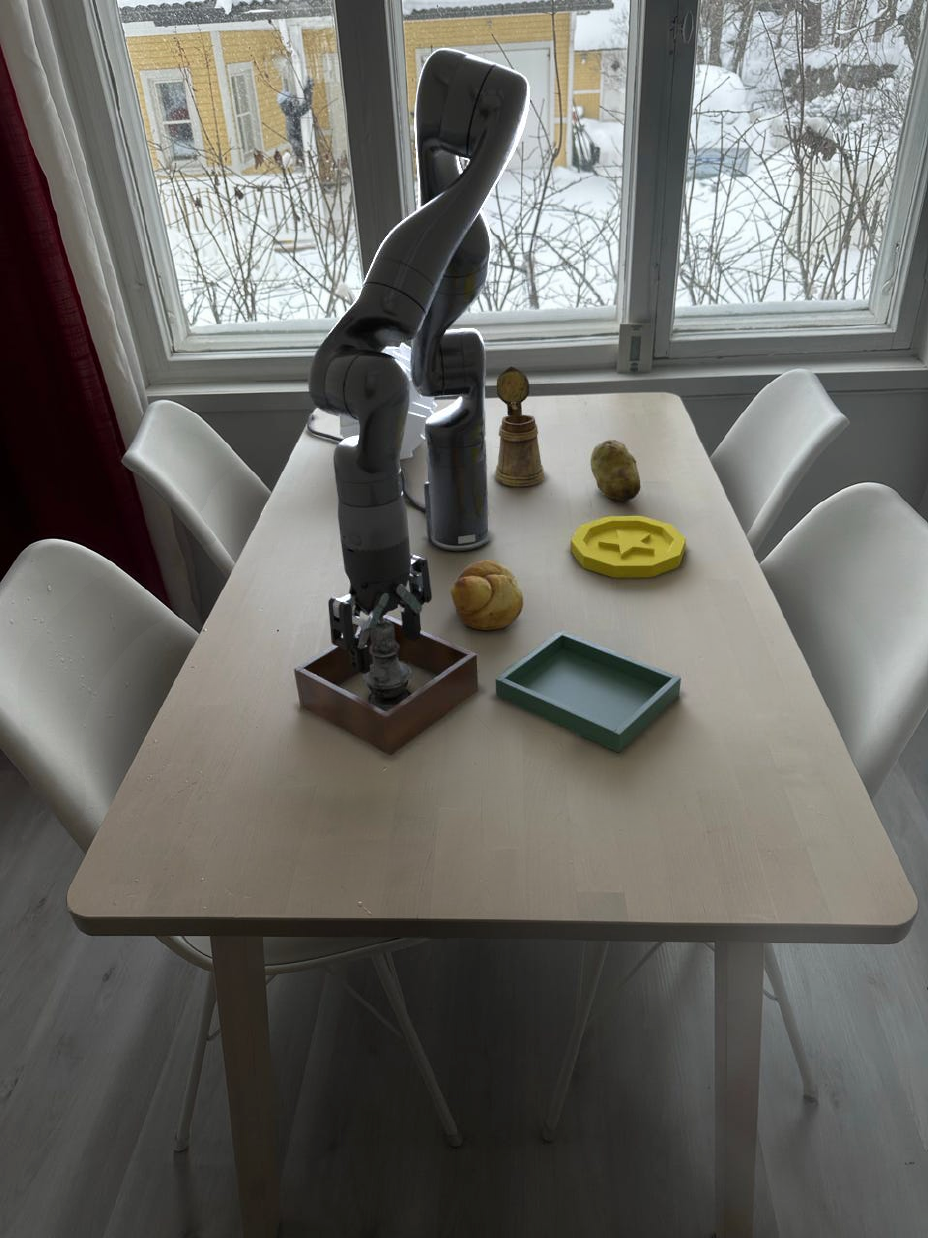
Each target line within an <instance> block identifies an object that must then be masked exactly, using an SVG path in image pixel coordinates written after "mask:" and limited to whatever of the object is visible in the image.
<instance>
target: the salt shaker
mask: <svg viewBox="0 0 928 1238" xmlns="http://www.w3.org/2000/svg"><path fill="white" fill-rule="evenodd" d="M383 619H384V617H381V618H380V619H379V620H378V623H377V626H376V628H375V630H373V631H371V632H370V634H371V642H372V645H371V646H370V648H369V652H370V653H371V654H372V657H373V664H372V665H370V671H369V672H368V673H366V674H363V673H362V681H363V682H364V683H365V685H366V687H367V688H368V690H369V691H370V693H369V695H368V697H367V702H369V703H370V704H372V705H374V706H376V707H378V708H380V709H382V710H384V711H386V712H387V711H388V710H390V709H391V708H393V707H394V706H396V705H397V704H398V703H400V702H401V701H403V700H404V699H406V698H407V697H408V696H410V695H411V694H412V693H411V692H410V689H408V685H409V683H410V680H411V677H412V669H411V668H410V667H409V666H408V665H407V664H405V663H404V662H401V661H399V658H398V653H397V652H398V651H399V648H400V647H399V645H398V643H396V639H395V629H394V625H393V624H392V623H391V622H390V621H388V620H383Z"/></svg>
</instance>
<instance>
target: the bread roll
mask: <svg viewBox="0 0 928 1238" xmlns="http://www.w3.org/2000/svg"><path fill="white" fill-rule="evenodd" d="M450 596H451V600H452V603H453V605H454V607H455V611H456V614H457V617H458V618H459V620H461V622H462V623H463V624H464V625H465V626H468V627H470V628H473V629H475V630H478V631H479V630H480V631H482V630H483V631H491V630H499V629H503V628H505V627H508V626H510V625H511V624H513V623H514V621H516V619H518V618H519V616H520V615H521V613H522V610H523V608H524V607H523V606H524V597H523V594H522V590H521V589H520V587H519V585H518V582H517V580H516V577H515V575H514V574H513V573H512V571H511V570H510V569H509V568H508V567H507V566H504V565H502V563H499V562H498V561H496V560H491V559H490V560H481V561H477V562H473V563H470V564H468V565H467V566H465V568H464V569H463V570H461V572H460V573H459V575H458V576H457V578H456V580H455V582H454V583H453V584H452V586H451V589H450Z"/></svg>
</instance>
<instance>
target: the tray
mask: <svg viewBox="0 0 928 1238" xmlns="http://www.w3.org/2000/svg"><path fill="white" fill-rule="evenodd" d="M681 682H682V677H680V676H678V675H675V674H673V673H671V672H667V671H665V670H662V669H660V668H657V667H655V666H652V665H649V664H647V663H645V662H642V661H639V660H637V659H635V658H633V657H629V656H627V655H625V654H621V653H619V652H616V651H614V650H611V649H609V648H606V647H604V646H601V645H598V644H596V643H593V642H591V641H588V640H586V639H583V638H581V637H578V636H575V635H573V634H571V633H568V632H565V631H562V630H559V631H558V632H556V633H555V634H554V635H553V636H551V637H550V638H549V639H547V640H546V641H545V642H544V643H542V644H541V645H539V646H538V647H536V648H535V649H533V651H531V652H530V653H529V654H527V655H526V656H524V657H523V658H522V659H520V660H519V661H518V662H516V663H515V664H514V665H513V666H511V667H510V668H508V669H507V670H506V671H504V672H503V673H501V674H500V675H499V676H497V677H496V678H495V697H497V698H499V699H501V700H503V701H506V702H508V703H510V704H512V705H514V706H517V707H519V708H520V709H523V710H525V711H527V712H530V713H531V714H534V715H536V716H538V717H540V718H543V719H545V720H546V721H549V722H550V723H553V724H555V725H558V726H560V727H562V728H564V729H566V730H569V731H570V732H573V733H575V734H577V735H580V736H581V737H583V738H586V739H588V740H590V741H591V742H594V743H597V744H599V745H601V746H603V747H605V748H607V749H610V750H612V751H614V752H616V753H620V752H622V750H623V749H624V748H626V746H627V745H629V744H630V743H631V742H632V741H633V740H634V739H635V738H636V737H637V736H638V735H639V734H640V733H641V732H643V730H644V729H646V728H647V726H648V725H650V724H651V723H652V722H653V721H654V720H655V719H656V718H657V717H658V716H659V715H660V714H661V713H663V711H664V710H665V709H666V708H668V706H669V705H670V704H671V703H672V702H674V701H675V700H676V699H677V698H678V697H679V696H680V691H681Z"/></svg>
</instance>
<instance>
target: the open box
mask: <svg viewBox="0 0 928 1238" xmlns="http://www.w3.org/2000/svg"><path fill="white" fill-rule="evenodd" d="M383 617H384V619H383V620H388V621H390V622H391V623H392V624H393V625H394V629H395V639H396V643H398V645H399V647H400V648H399V651H398V652H397V653H398V659H399V660H401V661H404V662H406V663H407V664H408V663H409V664H410V665H413V666H415V667H417V668H420V669H421V670H424V671H426V672H427V673H429V674H431V675H434V676H435V677H434V678H433V679H431V680H430V681H429V682H427V683H426V684H424V685H422V686H421V687H420V688H418V689H417V690H416V691H414V692H413V693H410V694H411V695H410V696H408V697H407V698H406V699H404V700H403V701H401V702H400V703H398V704H397V705H396V706H394V707H393V708H391V709H390V710H388V711H384V710H382V709H380V708H378V707H376V706H374V705H372V704H370V703H369V701H368V700H364V699H362V698H361V697H359V696H357V695H355V694H353V693H351V692H349V691H347V690H346V689H343V688H342V687H340V685H342V684H344V683H345V682H346V681H348V680H350V679H352V678H353V677H355V676H356V675H358V674H359V673H360V672H359V671H356V670H355V669H353V668H352V667H351V665H350V659H349V651H346V650H345V649H343V648H341V647H338V646H336V645H333V644H332V646H330V647H328V648H326V649H324V650H322V651H321V652H320V653H318V654H316V655H314V656H313V657H311V658H309V659H308V660H306V661H305V662H303V663H301V664H300V665H298V666H296V667H295V668H293V672H294V673H293V674H294V678H295V683H296V690H297V695H298V696H297V697H298V702H299V706H300V707H302V708H303V709H305V710H307V711H309V712H311V713H313V714H315V715H317V716H318V717H320V718H322V719H324V720H325V721H327V722H329V723H331V724H333V725H335V726H336V727H338V728H340V729H341V730H344V731H345V732H347V733H349V734H351V735H353V736H354V737H356V738H358V739H359V740H361V741H363V742H365V743H366V744H369V745H371V746H372V747H374V748H376V749H378V750H379V751H381V752H383V753H385V754H387V755H388V756H390V757H391V756H393V755H394V754H395V753H397V752H398V751H400V750H401V749H402V748H403V747H405V746H406V745H408V744H409V743H410V742H412V741H413V740H414V739H416V738H417V737H418V736H420V735H422V733H424V732H425V731H426V730H428V729H429V728H431V727H432V726H433V725H434V724H436V723H438V722H439V721H440V720H441V719H443V718H444V717H445V716H447V715H448V714H449V713H450V712H452V711H453V710H455V709H456V708H457V707H459V706H461V704H463V703H464V702H465V701H467V700H468V699H469V698H471V697H472V696H473V695H475V694H476V693H477V692H479V673H478V653H476V652H473V651H470V650H468V649H466V648H463V647H461V646H460V645H457V644H455V643H452V642H450V641H447V640H445V639H443V638H441V637H439V636H437V635H434V634H432V633H429V632H427V631H425V630H422V629H421V632H420V639H418V640H417V641H415V642H414V641H411V640H409V639H407V638H405V637H404V635H403V629H402V620H400V619H398V618H396V617H392V616H390V615H388V614H386V615H384V616H383ZM360 630H361V628H360V629H357V632H356V634H355V635H357V636H359V633H360ZM366 645H367V646H368V654H369V662H370V666H371V665H373V657H372V654H371V653H370V652H369V648H370V646H371V645H372V642H371V634H370V635H369V637H368V640H367V643H366Z"/></svg>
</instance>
